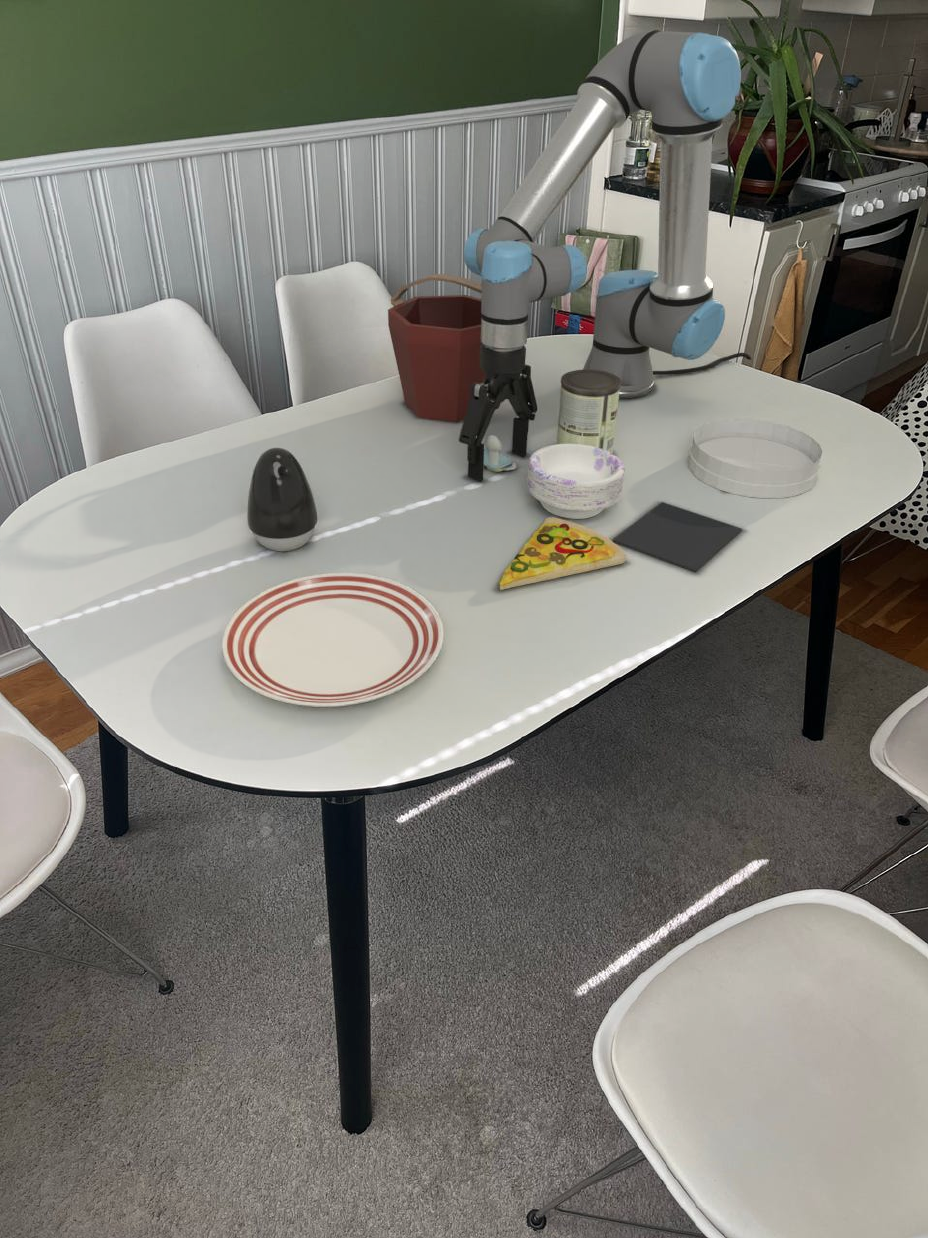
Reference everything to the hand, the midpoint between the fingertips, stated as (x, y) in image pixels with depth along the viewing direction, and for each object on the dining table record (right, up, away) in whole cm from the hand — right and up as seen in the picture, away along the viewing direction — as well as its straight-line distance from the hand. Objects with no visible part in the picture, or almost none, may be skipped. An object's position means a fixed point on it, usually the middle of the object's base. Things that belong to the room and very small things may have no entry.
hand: (497, 465), depth 165 cm
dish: (+45, -1, +1) cm, 45 cm away
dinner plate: (-22, -31, -45) cm, 59 cm away
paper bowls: (+12, -9, -11) cm, 18 cm away
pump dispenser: (-33, -16, -23) cm, 43 cm away
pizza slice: (+6, -19, -27) cm, 33 cm away
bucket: (-9, +15, +23) cm, 29 cm away
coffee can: (+16, +3, +5) cm, 17 cm away
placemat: (+27, -14, -19) cm, 36 cm away
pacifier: (0, 0, 0) cm, 0 cm away
